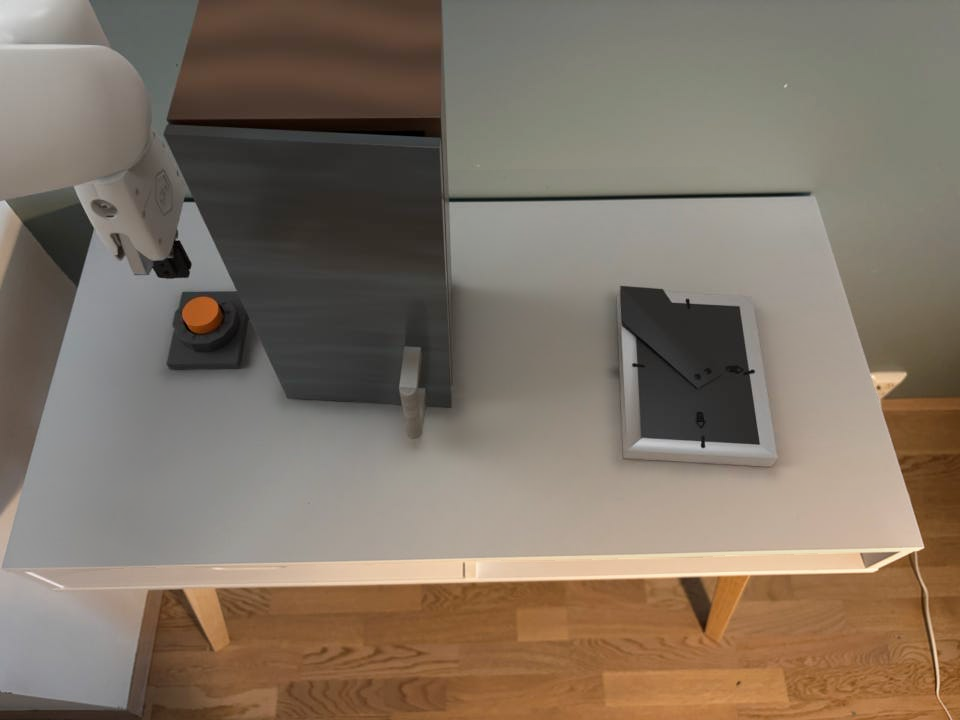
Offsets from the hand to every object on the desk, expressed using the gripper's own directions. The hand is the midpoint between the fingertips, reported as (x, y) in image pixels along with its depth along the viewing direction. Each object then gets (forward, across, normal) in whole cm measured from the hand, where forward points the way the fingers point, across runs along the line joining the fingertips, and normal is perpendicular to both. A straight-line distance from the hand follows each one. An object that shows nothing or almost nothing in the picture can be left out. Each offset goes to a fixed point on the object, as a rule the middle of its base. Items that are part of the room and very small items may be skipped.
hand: (175, 271), depth 75 cm
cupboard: (+12, 0, -19) cm, 22 cm away
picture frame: (+12, -7, -55) cm, 57 cm away
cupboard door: (+12, -11, -19) cm, 25 cm away
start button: (+10, +1, 0) cm, 10 cm away
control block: (+12, +1, 0) cm, 12 cm away
